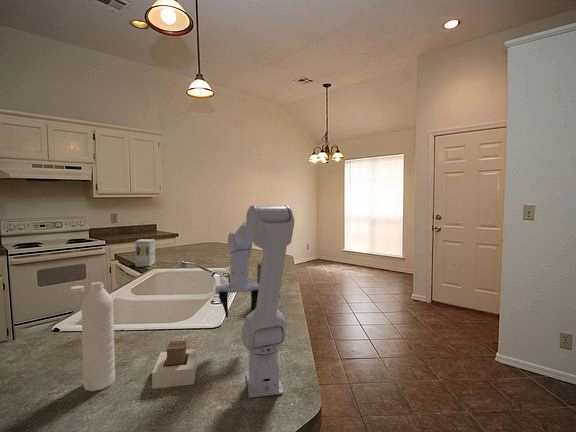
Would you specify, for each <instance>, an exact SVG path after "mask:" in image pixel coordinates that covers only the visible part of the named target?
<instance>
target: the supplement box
mask: <svg viewBox="0 0 576 432" xmlns="http://www.w3.org/2000/svg"><path fill="white" fill-rule="evenodd" d="M134 244H135V250H134V253H135V254H134V257H135V262H134V263H135V265H134V266H135V267H136V268H137V267H139V268H140V267H141V268H142V267H143V268H145V267H144V266H150V267H152V266H153V265H152V264H154V263H155V264H156V239H154V238H153V239H152V238H151V239H148V238H145V239H143V238H141V239H138V240H135V243H134ZM155 264H154V265H155ZM151 265H152V266H151Z"/></svg>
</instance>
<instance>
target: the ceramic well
mask: <svg viewBox="0 0 576 432" xmlns="http://www.w3.org/2000/svg"><path fill="white" fill-rule="evenodd" d="M198 351H199V350H198V348H194V349H191V348H190V349H186V365H179V366H169V367H167V351H161V352H160V353H159V356H158V358H157V361H156V362H155V365H154V368H153V369H152V372H151V377H152V378H151V379H152V380H151V382H152V386H151V387H152V390H155V389H156V390H157V389H165V388H172V387H173V388H174V387H183V386H192V385H194V384H195V381H196V374H197V368H198V363H199V361H198V360H199V358H198V357H199V356H198V355H199V354H198V353H199V352H198Z"/></svg>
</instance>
